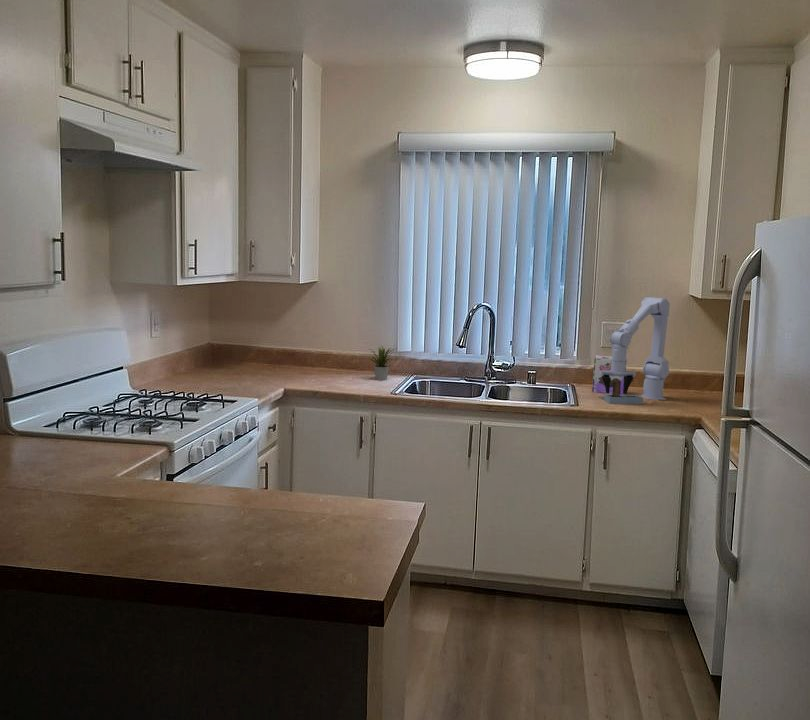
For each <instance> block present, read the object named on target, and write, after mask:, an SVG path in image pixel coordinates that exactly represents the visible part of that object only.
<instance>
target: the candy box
mask: <svg viewBox="0 0 810 720" xmlns="http://www.w3.org/2000/svg"><path fill="white" fill-rule="evenodd" d="M611 361H612V356H606V355H597V354H596V355H595V356H594V363H593V373H592V389H591V392H592V393H596V394H612V393H613V381H619V382H621V386H620V395H625V393H623V390H624V376H610V378H611V381H610V389H609V393H606V388H605V384H604V381H603V379H602V376H601V375H600V371H606V370H611ZM627 361H628V358H627V357H626V365H625V371H627ZM615 375H623V374H615Z"/></svg>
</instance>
